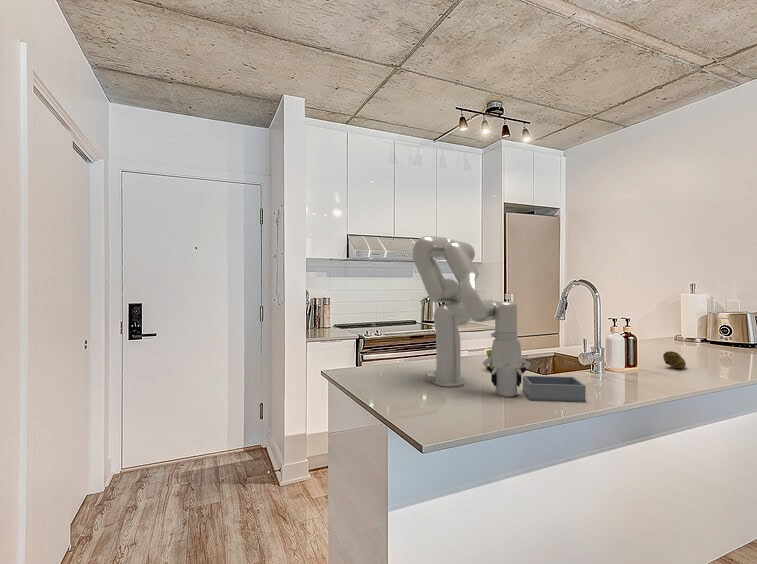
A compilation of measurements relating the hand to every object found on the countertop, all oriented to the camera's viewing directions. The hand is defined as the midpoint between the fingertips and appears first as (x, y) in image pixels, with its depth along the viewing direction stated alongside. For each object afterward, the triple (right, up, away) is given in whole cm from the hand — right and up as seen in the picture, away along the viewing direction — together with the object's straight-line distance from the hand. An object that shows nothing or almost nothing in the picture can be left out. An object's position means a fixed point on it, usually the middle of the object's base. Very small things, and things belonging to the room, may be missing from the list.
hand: (506, 384), depth 150 cm
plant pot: (+7, -3, +37) cm, 37 cm away
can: (0, -4, 0) cm, 4 cm away
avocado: (+88, -2, +38) cm, 96 cm away
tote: (+16, -3, -2) cm, 16 cm away
